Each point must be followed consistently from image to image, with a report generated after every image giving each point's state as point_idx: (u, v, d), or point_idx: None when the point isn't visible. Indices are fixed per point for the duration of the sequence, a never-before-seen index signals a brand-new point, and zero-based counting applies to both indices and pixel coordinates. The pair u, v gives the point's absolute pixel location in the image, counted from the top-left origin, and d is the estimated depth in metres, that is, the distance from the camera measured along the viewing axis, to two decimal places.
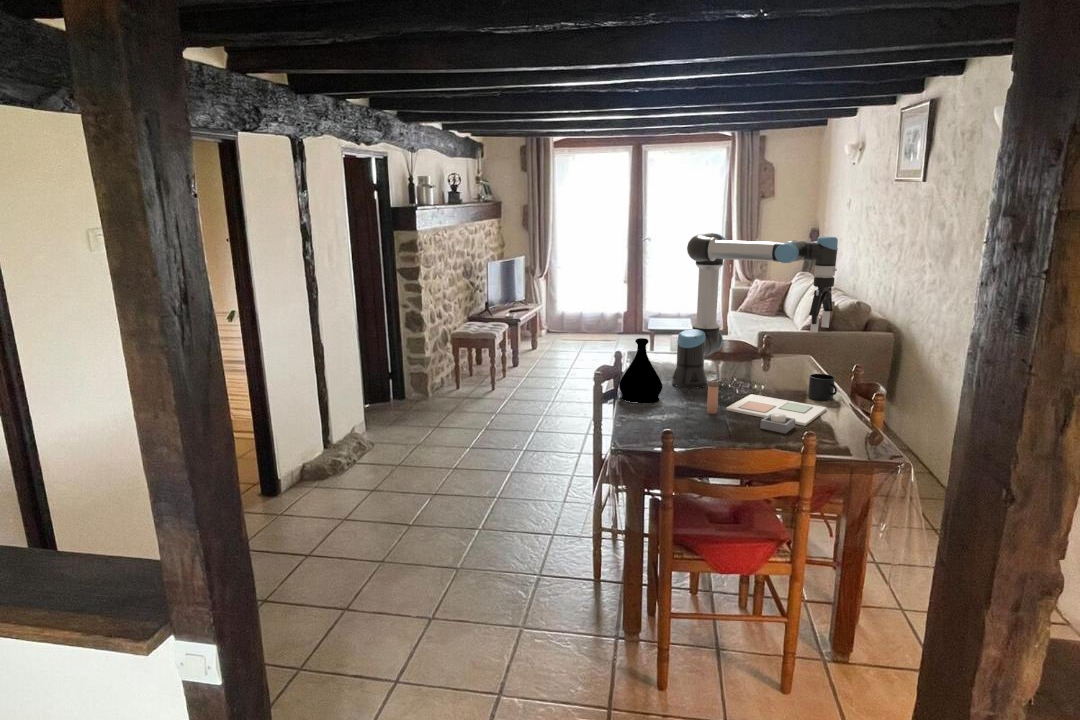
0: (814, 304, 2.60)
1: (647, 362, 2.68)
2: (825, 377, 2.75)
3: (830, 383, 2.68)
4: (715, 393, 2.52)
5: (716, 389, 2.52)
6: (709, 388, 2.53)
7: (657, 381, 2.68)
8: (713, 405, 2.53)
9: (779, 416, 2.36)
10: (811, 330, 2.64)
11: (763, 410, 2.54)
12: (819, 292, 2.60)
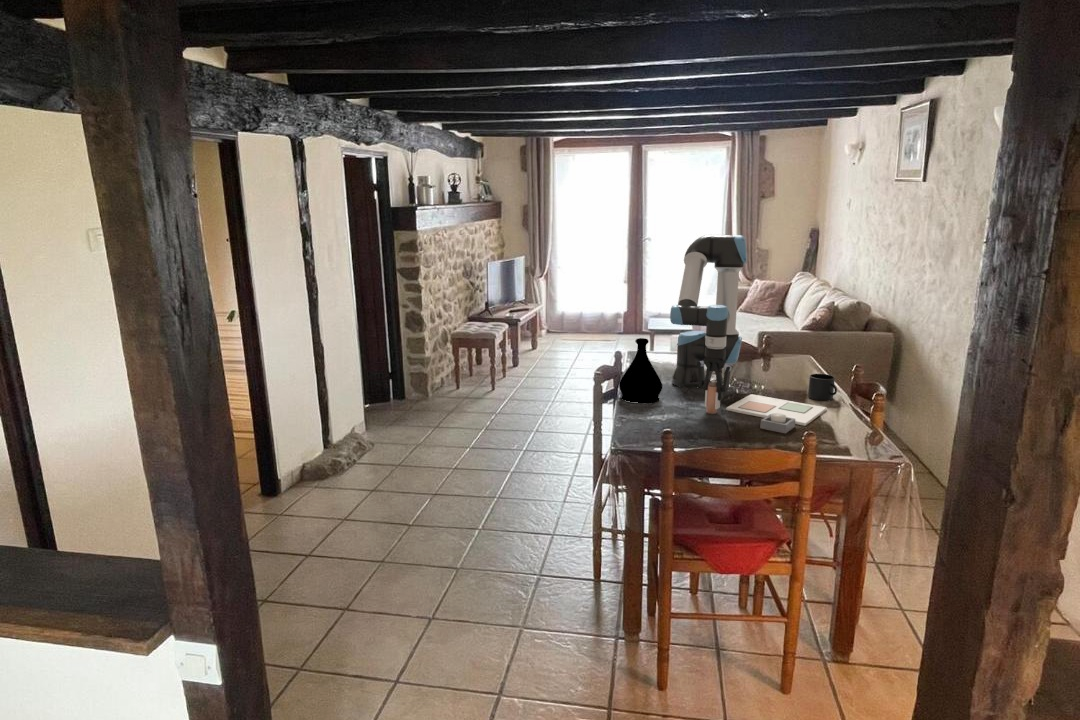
0: None
1: (647, 362, 2.68)
2: (825, 377, 2.75)
3: (830, 383, 2.68)
4: (714, 393, 2.52)
5: (716, 389, 2.52)
6: (709, 388, 2.53)
7: (657, 381, 2.68)
8: (713, 405, 2.53)
9: (779, 416, 2.36)
10: None
11: (763, 410, 2.54)
12: None
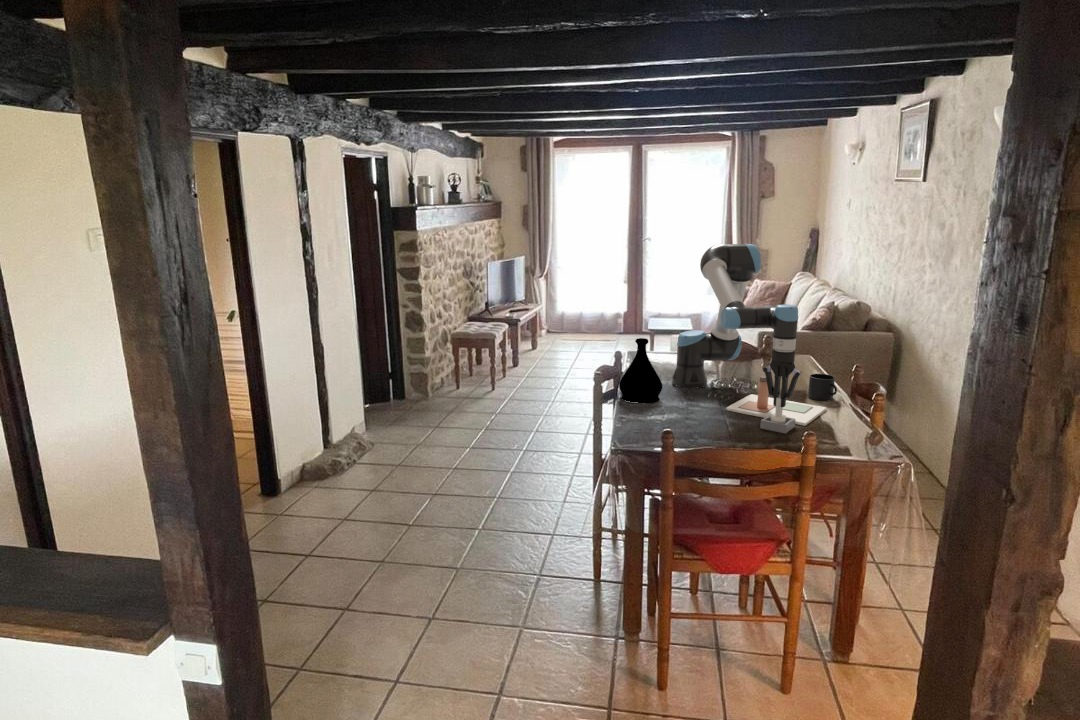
0: None
1: (647, 362, 2.68)
2: (825, 377, 2.75)
3: (830, 383, 2.68)
4: (766, 388, 2.53)
5: None
6: (760, 383, 2.54)
7: (657, 381, 2.68)
8: (764, 401, 2.55)
9: (779, 416, 2.36)
10: None
11: (763, 410, 2.54)
12: None
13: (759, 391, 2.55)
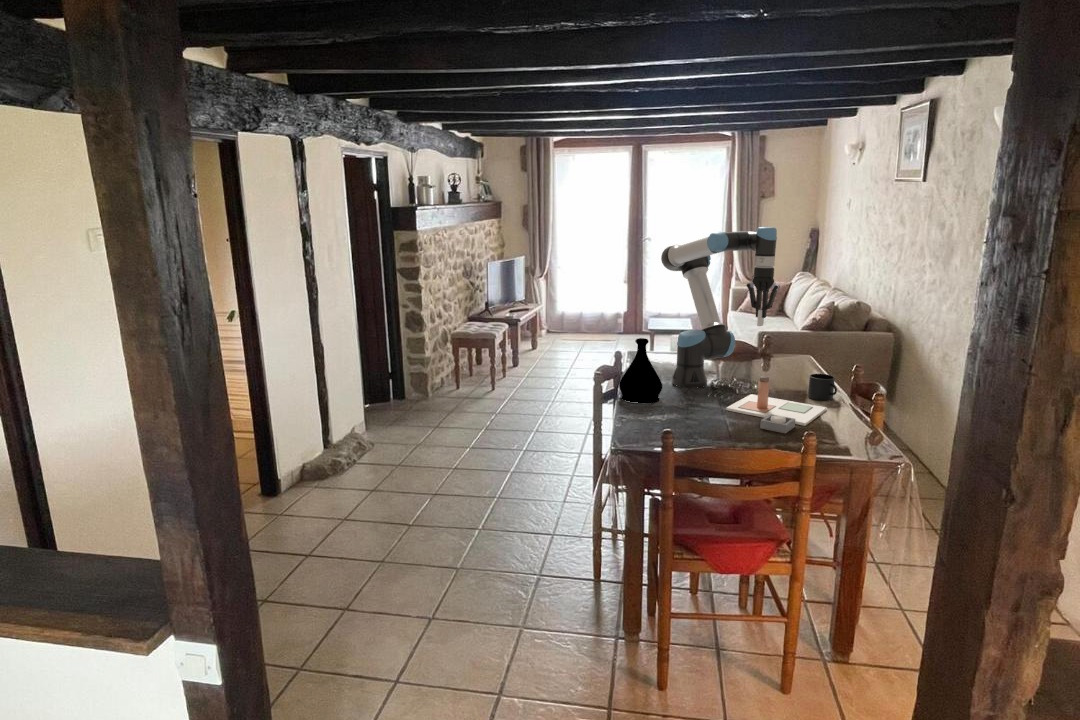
0: None
1: (647, 362, 2.68)
2: (825, 376, 2.75)
3: (830, 383, 2.68)
4: (766, 388, 2.53)
5: (767, 384, 2.53)
6: (760, 383, 2.54)
7: (657, 381, 2.68)
8: (764, 401, 2.55)
9: (778, 418, 2.36)
10: None
11: (763, 410, 2.54)
12: None
13: (759, 391, 2.55)
